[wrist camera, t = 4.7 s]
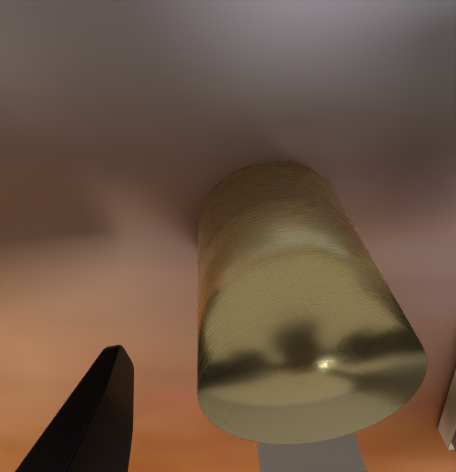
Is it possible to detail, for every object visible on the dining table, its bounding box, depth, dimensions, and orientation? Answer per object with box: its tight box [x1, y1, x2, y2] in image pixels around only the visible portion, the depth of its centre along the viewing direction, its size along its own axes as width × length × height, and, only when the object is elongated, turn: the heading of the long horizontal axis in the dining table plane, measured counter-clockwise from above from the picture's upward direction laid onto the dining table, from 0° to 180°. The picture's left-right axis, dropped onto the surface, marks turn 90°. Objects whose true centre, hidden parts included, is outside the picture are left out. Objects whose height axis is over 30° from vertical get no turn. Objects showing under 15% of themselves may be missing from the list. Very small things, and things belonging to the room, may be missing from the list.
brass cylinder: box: [197, 162, 427, 444], centre depth 10 cm, size 5×5×6 cm
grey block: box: [257, 433, 367, 472], centre depth 19 cm, size 4×4×4 cm
